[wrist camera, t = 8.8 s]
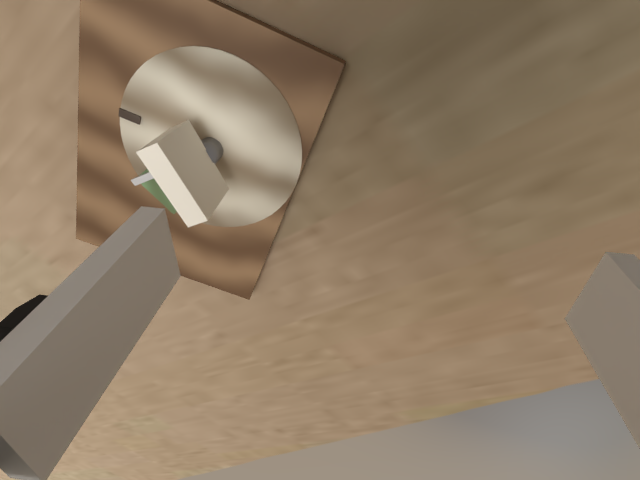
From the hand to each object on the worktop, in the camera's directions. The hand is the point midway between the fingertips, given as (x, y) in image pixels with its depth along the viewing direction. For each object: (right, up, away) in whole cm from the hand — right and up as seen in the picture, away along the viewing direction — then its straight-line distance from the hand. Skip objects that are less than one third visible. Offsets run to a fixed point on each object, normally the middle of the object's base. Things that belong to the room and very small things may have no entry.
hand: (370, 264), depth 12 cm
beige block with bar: (-16, +9, +26) cm, 31 cm away
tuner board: (-15, +9, +28) cm, 33 cm away
